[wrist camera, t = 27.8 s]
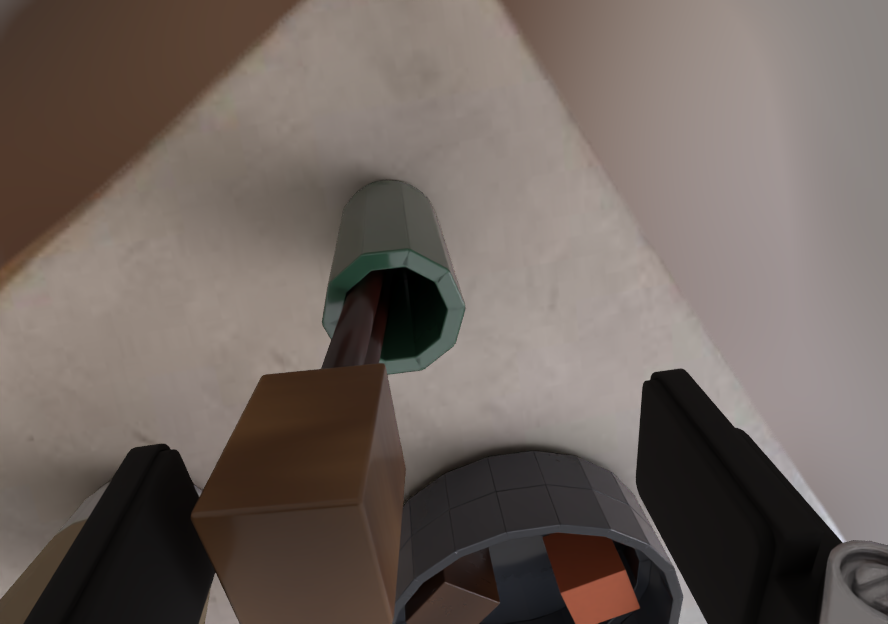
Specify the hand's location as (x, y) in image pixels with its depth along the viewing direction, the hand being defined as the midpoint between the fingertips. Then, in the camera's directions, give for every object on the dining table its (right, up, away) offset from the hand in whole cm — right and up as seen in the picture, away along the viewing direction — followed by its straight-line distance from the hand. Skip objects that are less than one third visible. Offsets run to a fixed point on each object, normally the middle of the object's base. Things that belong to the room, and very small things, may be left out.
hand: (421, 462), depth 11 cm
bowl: (+5, -12, +25) cm, 28 cm away
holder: (-2, +7, +14) cm, 16 cm away
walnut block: (+1, -12, +24) cm, 27 cm away
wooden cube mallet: (-2, +7, +14) cm, 15 cm away
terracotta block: (+9, -12, +25) cm, 29 cm away
